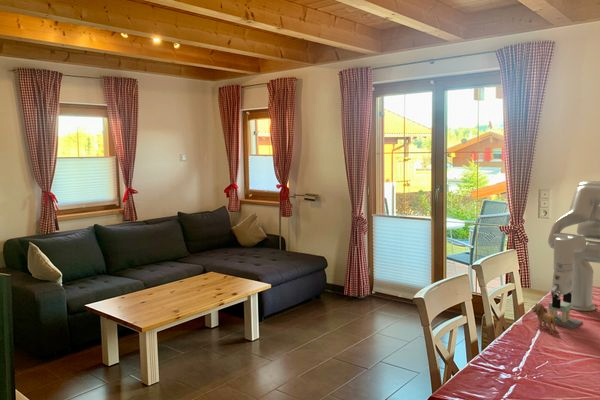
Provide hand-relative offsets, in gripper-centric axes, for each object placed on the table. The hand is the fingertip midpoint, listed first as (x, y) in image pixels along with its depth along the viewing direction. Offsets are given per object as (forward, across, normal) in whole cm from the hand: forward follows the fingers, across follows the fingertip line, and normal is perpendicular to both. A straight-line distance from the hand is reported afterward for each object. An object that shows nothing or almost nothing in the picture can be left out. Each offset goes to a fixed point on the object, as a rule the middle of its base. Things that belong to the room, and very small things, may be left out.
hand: (561, 304), depth 206 cm
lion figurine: (+7, -13, 0) cm, 15 cm away
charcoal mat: (+7, -1, 0) cm, 7 cm away
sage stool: (+6, -1, 0) cm, 6 cm away
